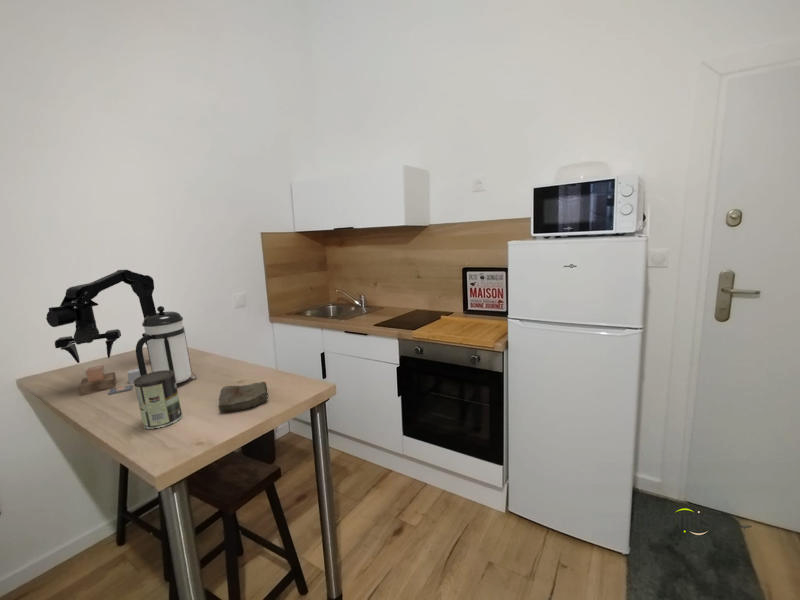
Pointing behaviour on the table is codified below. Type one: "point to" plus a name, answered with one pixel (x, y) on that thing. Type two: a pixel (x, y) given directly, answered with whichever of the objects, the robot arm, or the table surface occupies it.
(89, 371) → the terracotta cube
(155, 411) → the coffee can
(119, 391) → the card
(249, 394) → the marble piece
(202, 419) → the table surface
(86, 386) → the walnut block
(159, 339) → the coffee press
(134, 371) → the grey cube
